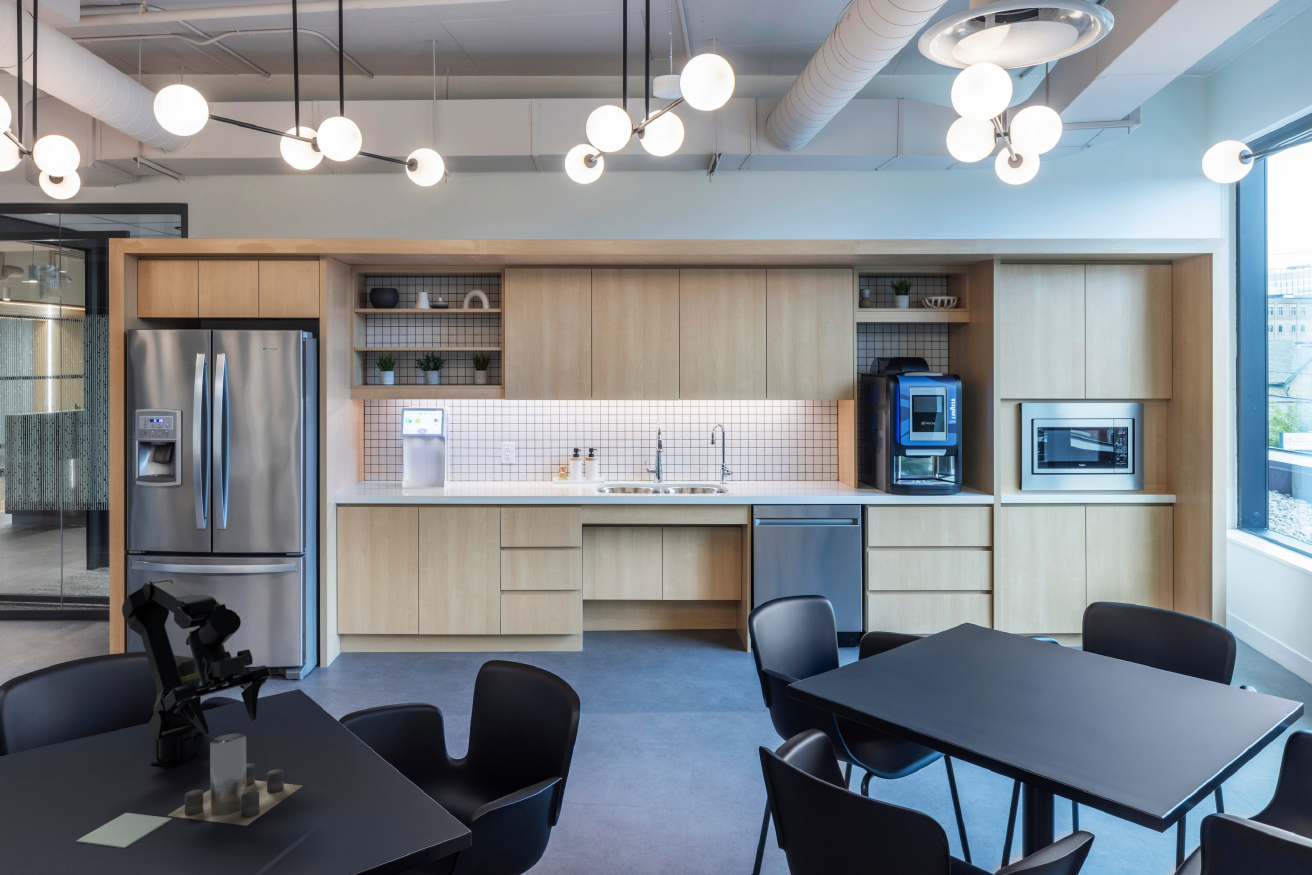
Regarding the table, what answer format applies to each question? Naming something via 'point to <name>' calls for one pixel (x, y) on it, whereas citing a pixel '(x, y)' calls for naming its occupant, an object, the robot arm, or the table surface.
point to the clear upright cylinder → (227, 773)
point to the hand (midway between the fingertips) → (231, 727)
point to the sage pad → (124, 830)
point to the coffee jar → (187, 675)
